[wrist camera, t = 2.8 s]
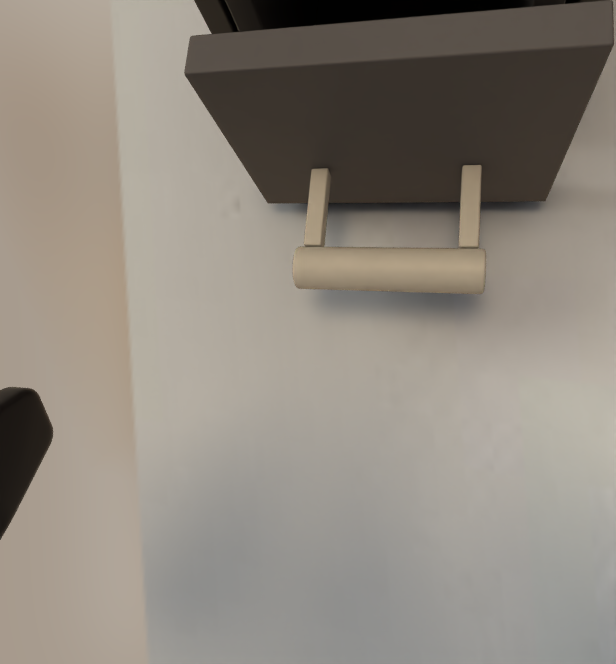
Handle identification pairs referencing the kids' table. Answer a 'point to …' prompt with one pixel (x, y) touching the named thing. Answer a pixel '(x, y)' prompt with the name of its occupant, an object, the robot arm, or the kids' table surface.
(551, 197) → the kids' table surface
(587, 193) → the kids' table surface
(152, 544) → the kids' table surface
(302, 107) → the drawer
